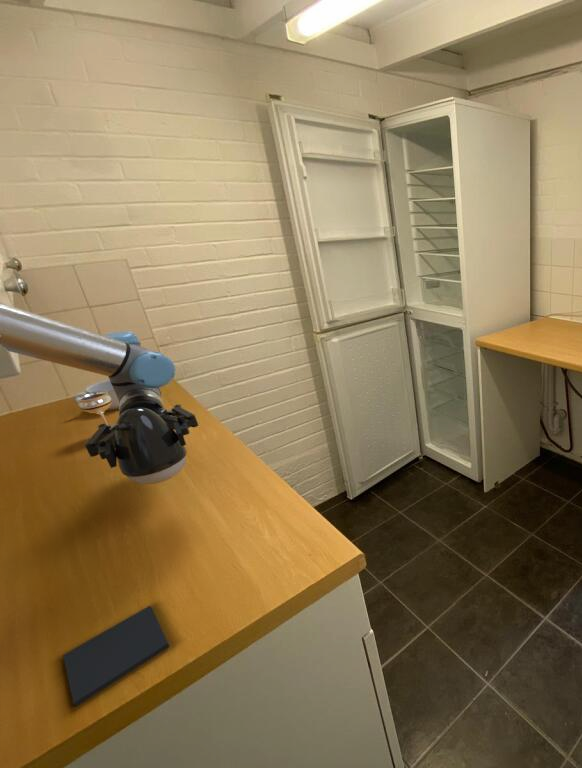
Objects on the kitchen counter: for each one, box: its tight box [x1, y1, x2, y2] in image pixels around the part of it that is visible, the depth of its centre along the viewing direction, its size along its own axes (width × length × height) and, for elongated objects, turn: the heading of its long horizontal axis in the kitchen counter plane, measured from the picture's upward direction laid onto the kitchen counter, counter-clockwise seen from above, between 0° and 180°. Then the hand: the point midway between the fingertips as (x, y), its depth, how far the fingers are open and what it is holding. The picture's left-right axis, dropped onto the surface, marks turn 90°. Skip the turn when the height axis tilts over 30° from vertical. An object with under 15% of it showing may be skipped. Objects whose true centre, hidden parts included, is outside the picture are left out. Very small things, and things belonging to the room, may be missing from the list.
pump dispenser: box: [114, 407, 188, 485], centre depth 81 cm, size 10×10×15 cm
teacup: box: [73, 379, 119, 412], centre depth 135 cm, size 14×11×8 cm
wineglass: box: [76, 391, 112, 425], centre depth 118 cm, size 7×7×12 cm
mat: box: [62, 605, 170, 708], centre depth 60 cm, size 10×10×1 cm
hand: (147, 449), depth 77 cm, fingers closed on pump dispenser, 10 cm apart
